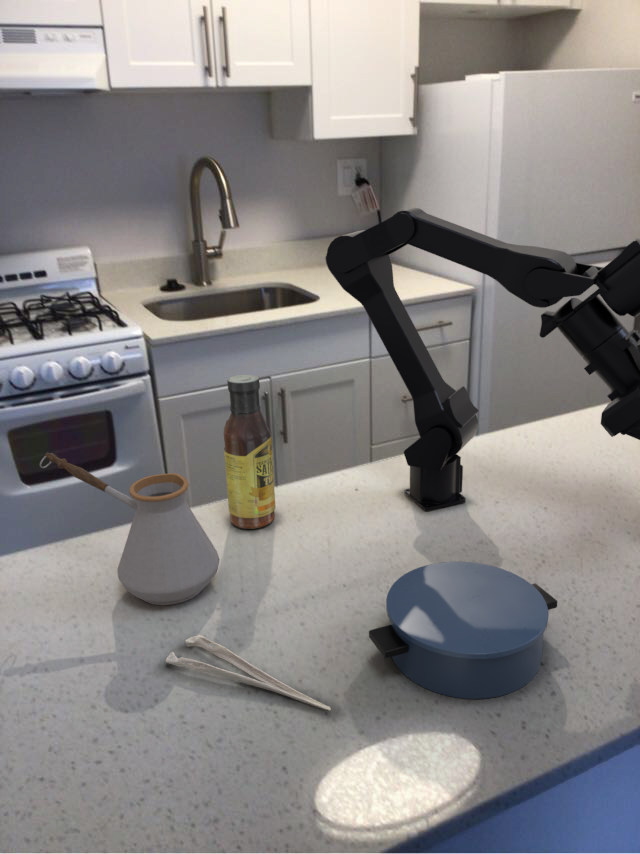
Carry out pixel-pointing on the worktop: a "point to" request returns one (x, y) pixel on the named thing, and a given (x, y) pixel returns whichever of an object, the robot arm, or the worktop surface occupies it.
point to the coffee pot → (159, 538)
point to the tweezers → (224, 653)
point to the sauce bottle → (248, 456)
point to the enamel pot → (465, 629)
